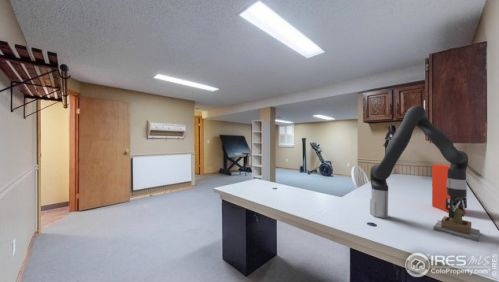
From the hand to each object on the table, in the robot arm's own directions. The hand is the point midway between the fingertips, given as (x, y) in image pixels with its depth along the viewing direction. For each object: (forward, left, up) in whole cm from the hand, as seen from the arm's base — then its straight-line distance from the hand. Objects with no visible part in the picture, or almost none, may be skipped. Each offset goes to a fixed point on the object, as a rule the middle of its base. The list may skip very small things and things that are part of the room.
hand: (456, 217), depth 107 cm
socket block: (0, 0, -8) cm, 8 cm away
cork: (0, 0, -6) cm, 6 cm away
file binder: (+25, +38, -8) cm, 46 cm away
